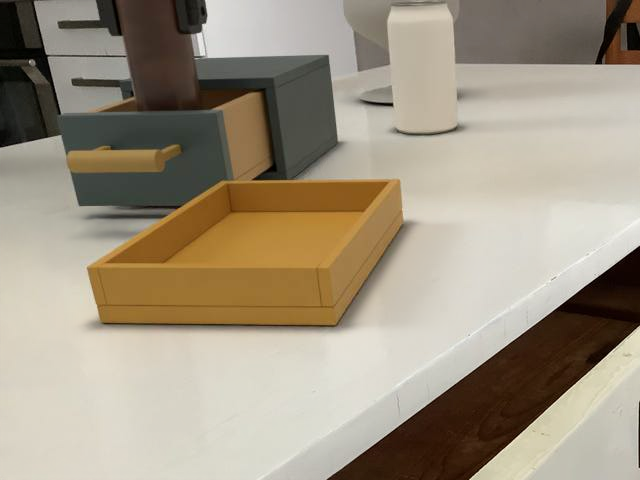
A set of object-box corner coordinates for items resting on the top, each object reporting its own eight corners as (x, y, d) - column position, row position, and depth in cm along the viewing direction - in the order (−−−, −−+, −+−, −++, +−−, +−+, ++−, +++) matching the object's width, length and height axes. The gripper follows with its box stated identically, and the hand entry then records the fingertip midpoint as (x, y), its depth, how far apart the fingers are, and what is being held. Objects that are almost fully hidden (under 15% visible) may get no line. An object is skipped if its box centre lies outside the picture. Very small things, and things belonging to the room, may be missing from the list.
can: (446, 120, 90) (439, -1, 85) (467, 130, 85) (461, 1, 80) (388, 127, 88) (377, 3, 83) (405, 137, 83) (395, 5, 78)
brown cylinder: (133, 152, 61) (95, -30, 56) (161, 139, 65) (129, -32, 60) (193, 151, 61) (161, -32, 56) (218, 139, 65) (190, -33, 60)
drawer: (206, 223, 55) (188, 124, 52) (43, 224, 56) (17, 127, 54) (295, 159, 72) (285, 81, 69) (168, 160, 73) (153, 85, 70)
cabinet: (287, 182, 68) (273, 77, 65) (140, 183, 70) (118, 81, 66) (338, 142, 82) (328, 54, 79) (214, 144, 84) (199, 58, 80)
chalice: (338, 96, 109) (325, -31, 103) (438, 86, 115) (431, -36, 108) (372, 111, 98) (360, -31, 91) (481, 99, 103) (477, -37, 96)
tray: (100, 323, 42) (85, 267, 41) (229, 223, 58) (221, 180, 57) (336, 326, 41) (328, 267, 40) (403, 223, 56) (400, 178, 55)
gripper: (236, -253, 55) (271, 28, 62) (31, -241, 57) (89, 32, 64) (187, -282, 48) (233, 37, 56) (-44, -266, 50) (31, 41, 57)
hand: (156, 33), depth 60 cm, fingers closed on brown cylinder, 4 cm apart
